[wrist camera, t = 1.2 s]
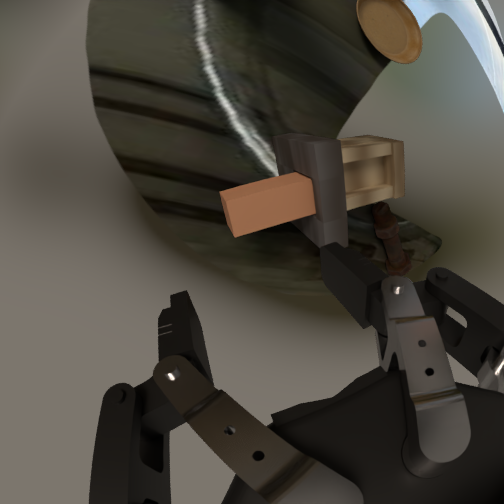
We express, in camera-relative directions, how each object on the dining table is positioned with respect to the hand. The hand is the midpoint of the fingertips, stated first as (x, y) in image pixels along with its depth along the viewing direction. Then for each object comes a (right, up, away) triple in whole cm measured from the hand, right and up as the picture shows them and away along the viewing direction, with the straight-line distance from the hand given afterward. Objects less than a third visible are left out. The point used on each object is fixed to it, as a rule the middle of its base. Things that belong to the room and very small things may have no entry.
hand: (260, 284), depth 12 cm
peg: (+3, +8, +20) cm, 21 cm away
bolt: (+24, +5, +35) cm, 43 cm away
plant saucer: (+21, +39, +17) cm, 48 cm away
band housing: (+11, +14, +26) cm, 32 cm away
